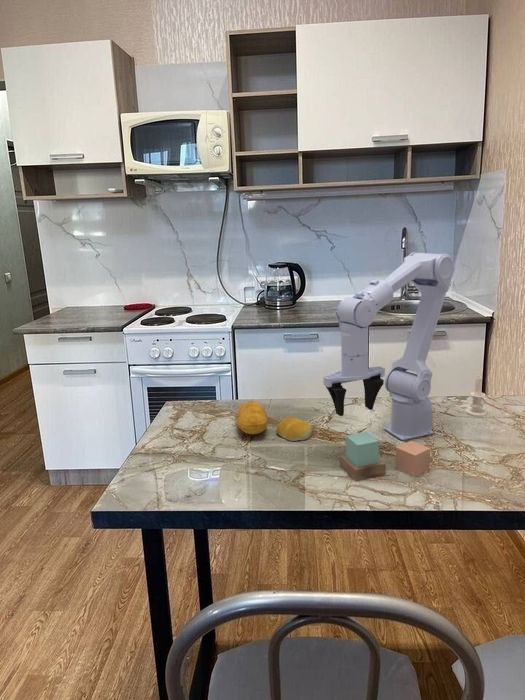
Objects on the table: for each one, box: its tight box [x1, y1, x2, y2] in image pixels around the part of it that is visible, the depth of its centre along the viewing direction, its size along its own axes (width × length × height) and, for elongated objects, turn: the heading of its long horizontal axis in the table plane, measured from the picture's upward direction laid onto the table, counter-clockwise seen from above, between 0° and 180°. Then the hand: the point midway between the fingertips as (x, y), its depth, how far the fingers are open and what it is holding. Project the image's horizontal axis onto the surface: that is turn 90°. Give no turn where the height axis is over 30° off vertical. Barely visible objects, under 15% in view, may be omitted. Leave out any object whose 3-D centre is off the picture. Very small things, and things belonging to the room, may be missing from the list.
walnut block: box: [339, 453, 386, 482], centre depth 112 cm, size 7×7×3 cm
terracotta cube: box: [394, 440, 431, 478], centre depth 111 cm, size 5×5×5 cm
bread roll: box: [276, 416, 313, 442], centre depth 131 cm, size 8×9×4 cm
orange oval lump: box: [236, 400, 268, 435], centre depth 133 cm, size 8×14×7 cm, turn 7°
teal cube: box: [345, 431, 380, 467], centre depth 110 cm, size 5×5×5 cm
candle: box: [465, 377, 488, 418], centre depth 138 cm, size 5×5×10 cm
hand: (354, 411), depth 117 cm, fingers open, 7 cm apart
